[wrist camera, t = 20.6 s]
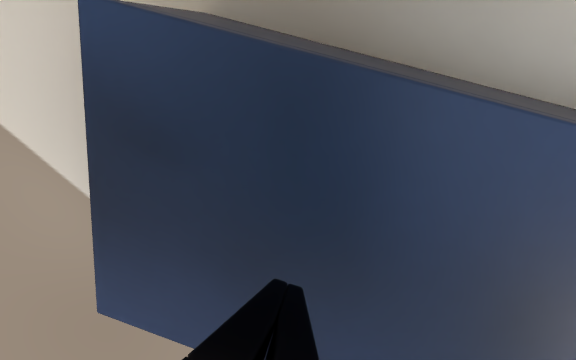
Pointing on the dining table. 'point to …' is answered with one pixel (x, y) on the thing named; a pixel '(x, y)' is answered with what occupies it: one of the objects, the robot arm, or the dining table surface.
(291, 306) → the robot arm
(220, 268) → the lunchbox lid
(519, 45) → the dining table surface
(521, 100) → the lunchbox
